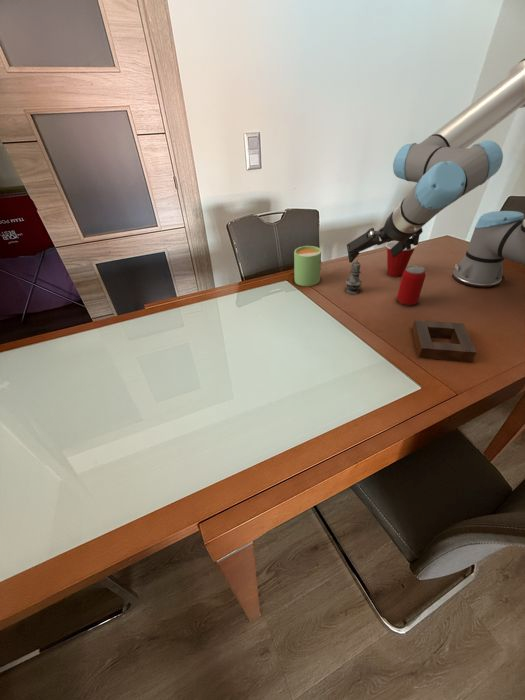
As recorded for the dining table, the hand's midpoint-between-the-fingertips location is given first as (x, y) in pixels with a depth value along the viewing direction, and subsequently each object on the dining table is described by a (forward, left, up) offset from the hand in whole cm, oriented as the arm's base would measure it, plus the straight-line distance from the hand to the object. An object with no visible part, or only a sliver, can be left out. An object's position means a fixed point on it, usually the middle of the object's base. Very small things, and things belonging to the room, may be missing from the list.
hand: (371, 255), depth 93 cm
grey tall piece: (+3, -10, -18) cm, 21 cm away
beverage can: (-15, -4, -18) cm, 23 cm away
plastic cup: (-13, -25, -18) cm, 33 cm away
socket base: (-21, +19, -18) cm, 33 cm away
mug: (+21, -18, -18) cm, 33 cm away
